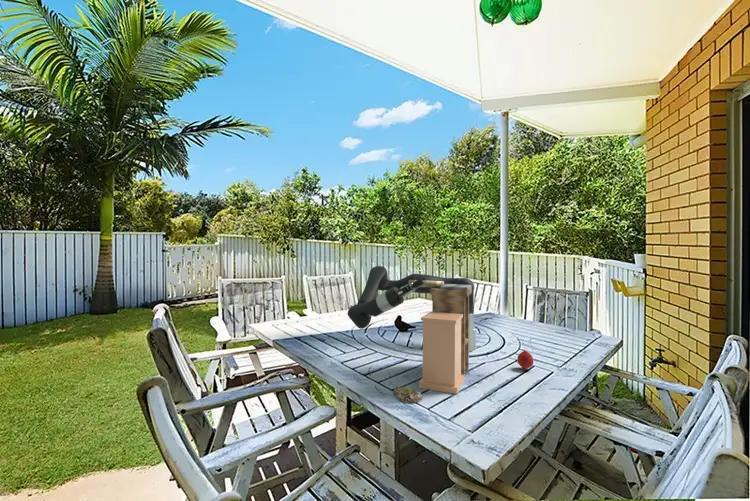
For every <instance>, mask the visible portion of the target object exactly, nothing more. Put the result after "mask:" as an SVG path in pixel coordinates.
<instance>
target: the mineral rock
mask: <svg viewBox="0 0 750 501" xmlns="http://www.w3.org/2000/svg"><path fill="white" fill-rule="evenodd" d="M393 395H394V396H395V398H396V397H397V398H398V401H400V402H403V403H406V404H407V403H408V404H410V403H412V404H413V403H419V402H420V401H422V400H423V397H422V393H421V392H420V391H417V390H415V389H411V388H410V387H407V386H403V387H401V386H396V385H395V386H394V389H393Z"/></svg>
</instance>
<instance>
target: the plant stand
mask: <svg viewBox="0 0 750 501" xmlns="http://www.w3.org/2000/svg"><path fill="white" fill-rule="evenodd" d="M471 293H472V288H471V289H469V290H467V291H462V290H444V289H440V288H432V289H430V293H429V295H432V298H431V299H432V301H431V303H432V304H431V306H432V308H431V309H432V310H431V312H441V313H454V314H463V317H462V318H461V375H464V378H465V377H466V371H467V372H468V371H469V369H470V368H469V367H470V363H469V362H470V352H469V295H470V294H471Z"/></svg>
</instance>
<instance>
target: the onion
mask: <svg viewBox="0 0 750 501" xmlns="http://www.w3.org/2000/svg"><path fill="white" fill-rule="evenodd" d="M516 361H517V363H518V365H519V366H520V367H521V368H522V369H523V370H525V371H526V370H529V369H530V368H531V367H533V365H534V358H533V355H532V353H530V352H529V351H527V349H525V348H524V349H523V351H521V352H520V353H519V354H518V355H517V359H516Z"/></svg>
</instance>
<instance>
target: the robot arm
mask: <svg viewBox="0 0 750 501" xmlns="http://www.w3.org/2000/svg"><path fill="white" fill-rule="evenodd" d="M388 273H389V272H388V270H387V268H386V267H385V266H382V265H377V266H373V267H371V269H370V270H369V274H368V278H367V281H366V284H365V286H364V289H363V291H362V293H361V295H360V298H359V299H358V300H357V302H356V304H353V305H352V306H351V307H349V308H348V311H347V316H348V318H349V319H350V320H351V321H352V322H353V324H354V325H355V326H356V328H358V329H360V330H361V329H366V328H367V327H368V326H369V325H370V322H371V320H372V317H378V316H380V315H382V314H384V313H385V312H387V311H390V310H392V309H394V308H397V307H398V306H399V305H402V304H403V303H404V300H405V299H404V298H405V297H407V296H410V295H411V294H412V293H416V294H430V289H432V288H433V287H419V286H420V285H422V284H424V282H423V280H424V281H444V284H460V285H471V288H472V293H471V294H470V295H469V353H470V352H473V351H474V350H476V335H477V334H476V331H477V330H476V328H475V307H474V306H475V305H474V303H475V302H474V300H475V299H474V297H475V294H474V293H475V284H474V282H473V281H472V279H470V278H468V277H443V276H436V275H431V274H425V273H424V274H423V273H421V274H420V273H411V274H408V275H407V276H405V277H403V278H401V279H397V280H394V279H393V280H390V279H389V277H388V276H389V274H388ZM409 280H418V281H416V282H414V283H411V284H408V282H409ZM378 291H384V292H382V293H380V294H379V295H378ZM377 295H378V296H377Z"/></svg>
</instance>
